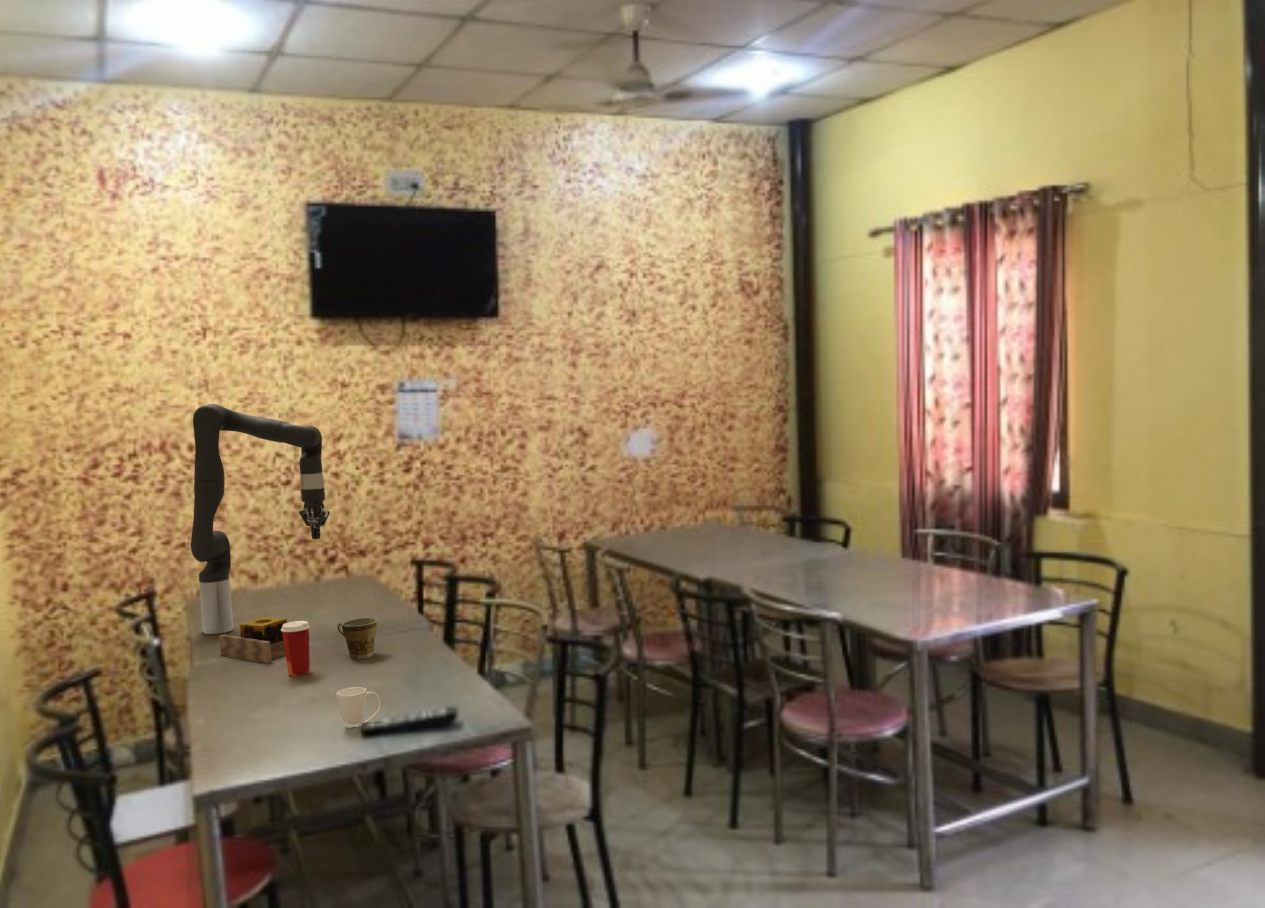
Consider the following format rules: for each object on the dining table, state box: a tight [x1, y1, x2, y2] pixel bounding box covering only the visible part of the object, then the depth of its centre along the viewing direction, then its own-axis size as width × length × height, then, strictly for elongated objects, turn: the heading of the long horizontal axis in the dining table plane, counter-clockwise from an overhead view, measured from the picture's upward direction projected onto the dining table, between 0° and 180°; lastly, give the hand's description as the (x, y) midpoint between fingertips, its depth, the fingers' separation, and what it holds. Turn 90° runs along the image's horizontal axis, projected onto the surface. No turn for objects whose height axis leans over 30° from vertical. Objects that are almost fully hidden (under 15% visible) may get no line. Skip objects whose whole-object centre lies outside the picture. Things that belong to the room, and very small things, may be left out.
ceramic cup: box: [337, 617, 378, 660], centre depth 302 cm, size 13×10×10 cm
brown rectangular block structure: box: [218, 633, 286, 664], centre depth 308 cm, size 22×8×6 cm, turn 56°
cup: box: [335, 686, 382, 725], centre depth 240 cm, size 7×10×8 cm
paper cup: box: [281, 620, 311, 677], centre depth 286 cm, size 8×8×14 cm
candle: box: [238, 616, 288, 650], centre depth 310 cm, size 10×10×10 cm
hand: (316, 539), depth 342 cm, fingers closed
